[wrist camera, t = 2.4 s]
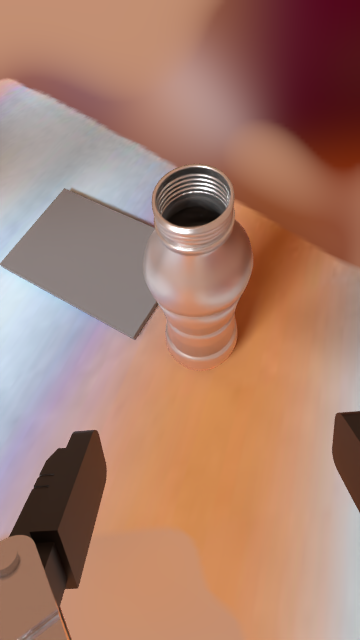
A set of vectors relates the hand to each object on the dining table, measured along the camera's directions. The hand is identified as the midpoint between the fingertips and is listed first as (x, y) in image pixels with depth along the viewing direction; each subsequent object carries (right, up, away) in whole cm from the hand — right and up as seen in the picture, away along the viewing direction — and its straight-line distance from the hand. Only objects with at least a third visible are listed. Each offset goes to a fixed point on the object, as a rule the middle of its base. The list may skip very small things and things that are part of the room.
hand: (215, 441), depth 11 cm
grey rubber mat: (-10, +11, +26) cm, 30 cm away
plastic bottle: (+1, +2, +22) cm, 22 cm away
